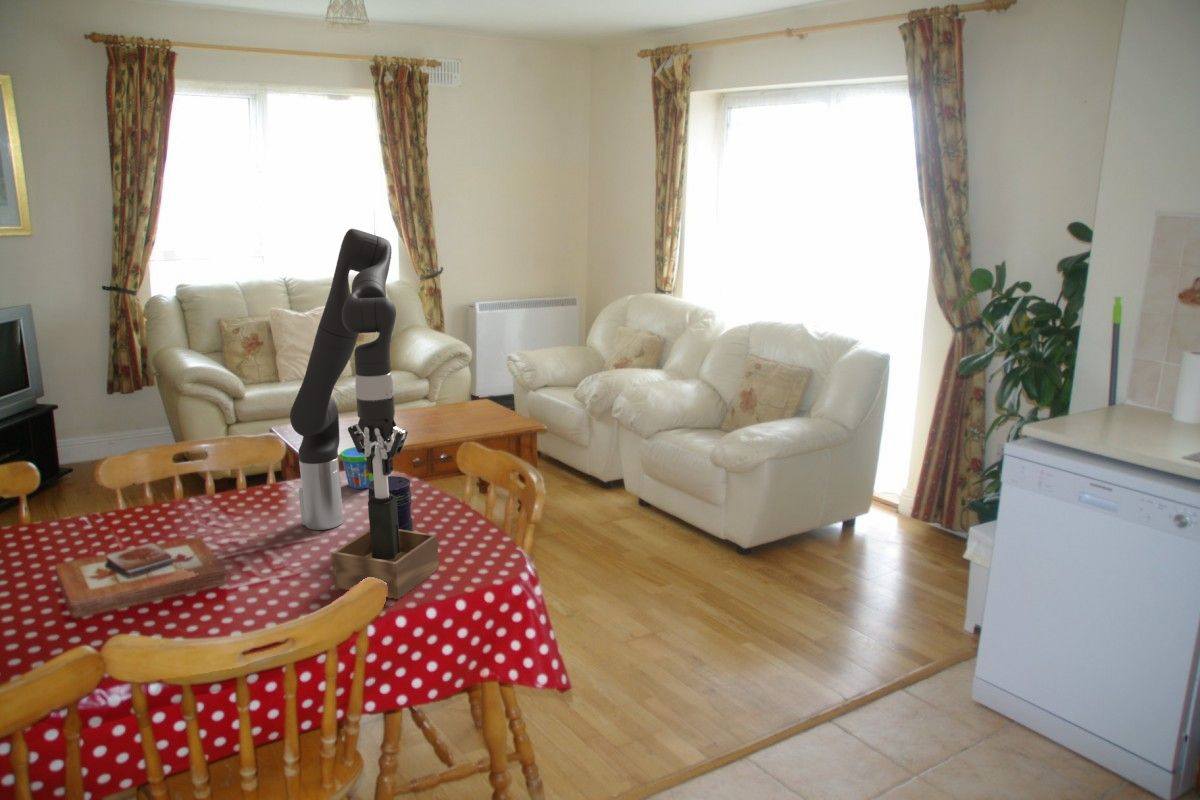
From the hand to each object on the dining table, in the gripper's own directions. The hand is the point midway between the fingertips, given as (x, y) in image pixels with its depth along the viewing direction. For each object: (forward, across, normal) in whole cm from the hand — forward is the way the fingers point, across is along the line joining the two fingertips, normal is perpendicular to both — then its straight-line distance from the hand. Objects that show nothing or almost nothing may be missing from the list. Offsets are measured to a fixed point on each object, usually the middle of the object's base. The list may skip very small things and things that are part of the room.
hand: (380, 473), depth 190 cm
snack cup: (+24, -41, +48) cm, 68 cm away
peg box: (+24, 0, 0) cm, 24 cm away
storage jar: (+24, -10, +17) cm, 31 cm away
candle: (+19, 0, 0) cm, 19 cm away
